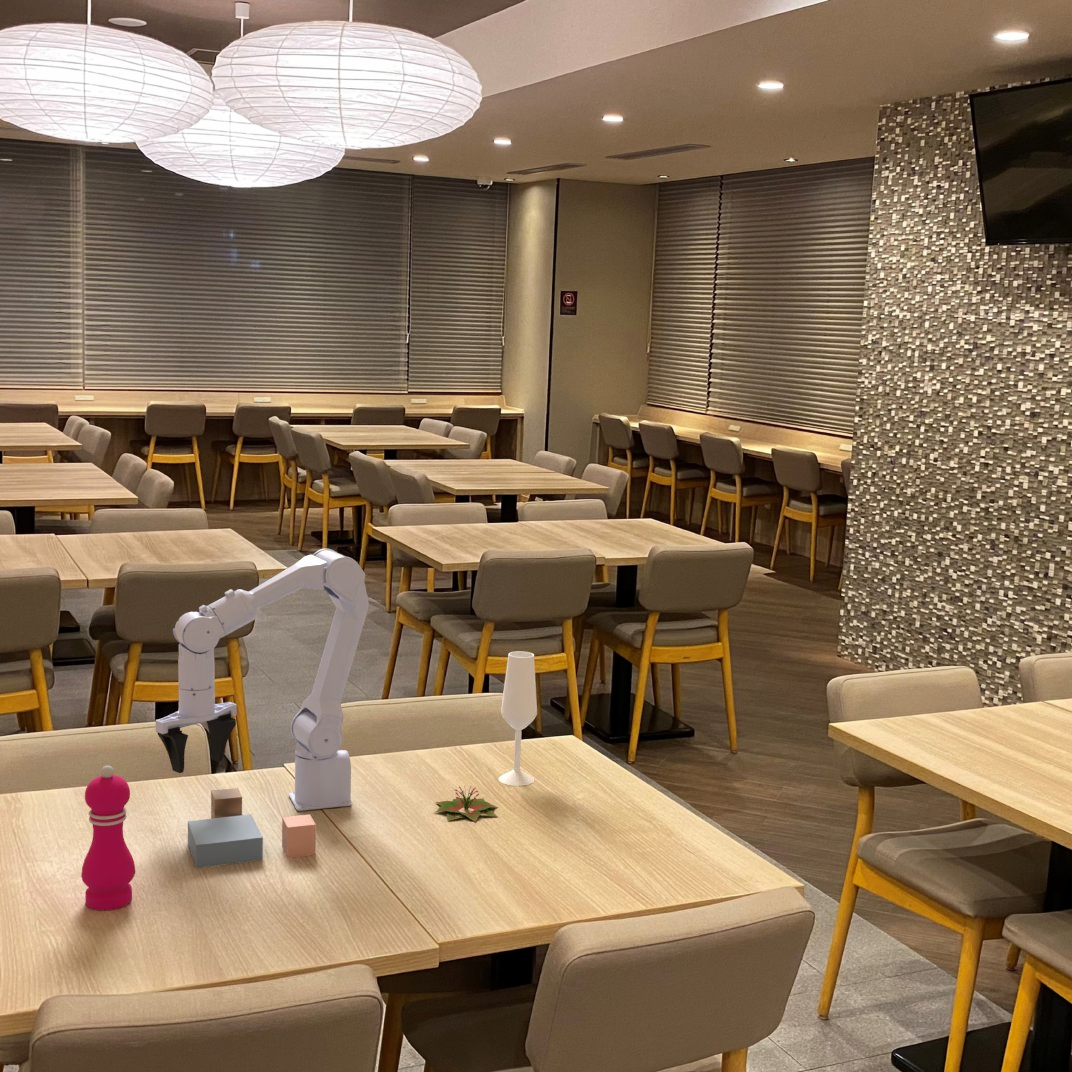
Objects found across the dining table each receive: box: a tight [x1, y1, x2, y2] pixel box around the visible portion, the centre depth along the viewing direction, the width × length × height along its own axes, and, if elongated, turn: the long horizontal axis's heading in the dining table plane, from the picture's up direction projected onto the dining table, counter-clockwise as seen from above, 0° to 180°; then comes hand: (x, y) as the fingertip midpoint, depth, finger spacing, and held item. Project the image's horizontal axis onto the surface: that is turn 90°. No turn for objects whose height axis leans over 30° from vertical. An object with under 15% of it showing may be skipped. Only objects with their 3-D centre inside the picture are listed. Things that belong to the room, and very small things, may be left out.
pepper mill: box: [80, 765, 136, 911], centre depth 176 cm, size 7×7×20 cm
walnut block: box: [210, 787, 243, 819], centre depth 208 cm, size 4×4×5 cm
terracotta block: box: [281, 814, 317, 859], centre depth 197 cm, size 4×4×5 cm
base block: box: [187, 814, 264, 869], centre depth 196 cm, size 10×10×4 cm
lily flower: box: [433, 785, 499, 823], centre depth 217 cm, size 12×12×5 cm
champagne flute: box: [498, 650, 538, 787], centre depth 232 cm, size 7×7×24 cm
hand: (197, 765), depth 207 cm, fingers open, 7 cm apart
